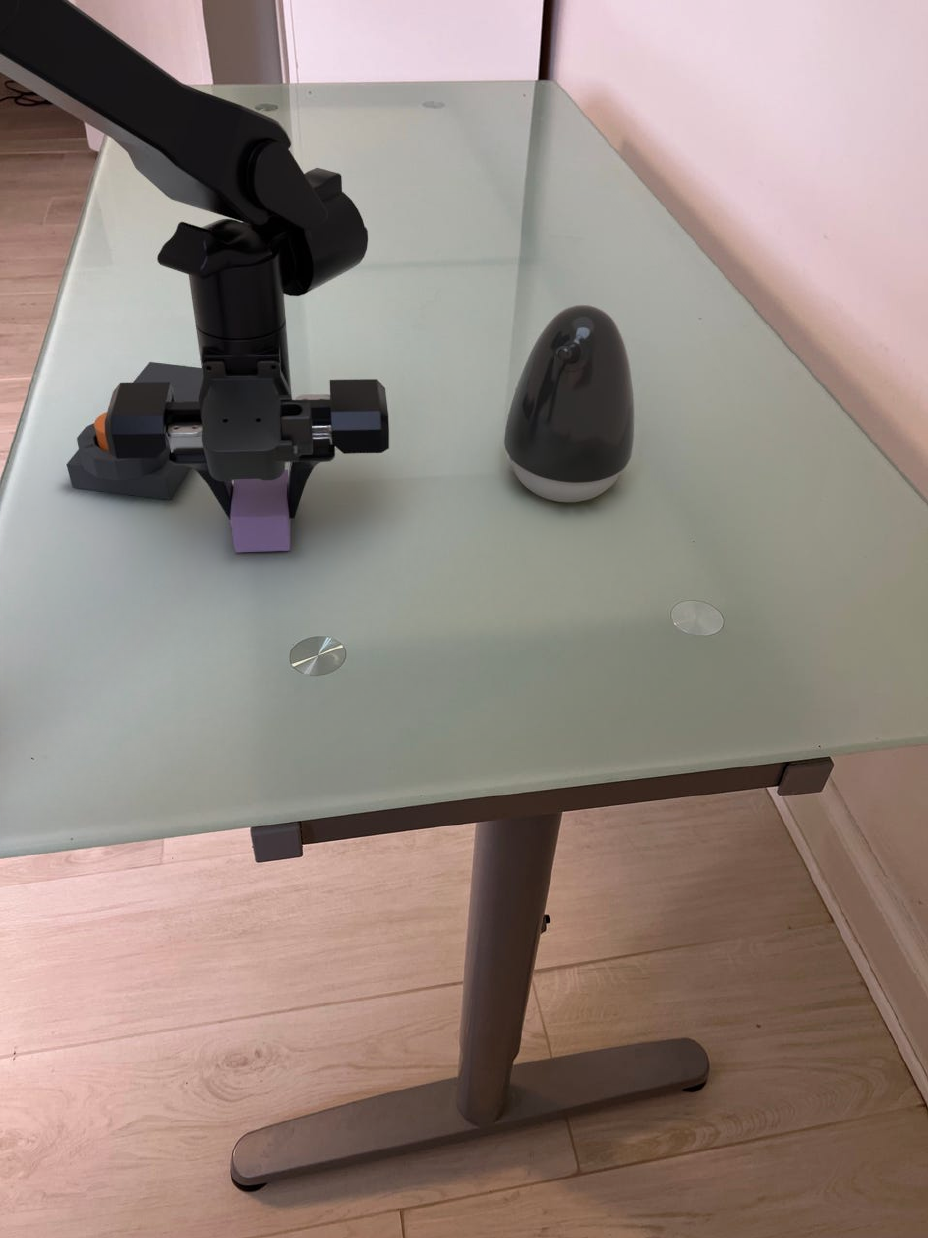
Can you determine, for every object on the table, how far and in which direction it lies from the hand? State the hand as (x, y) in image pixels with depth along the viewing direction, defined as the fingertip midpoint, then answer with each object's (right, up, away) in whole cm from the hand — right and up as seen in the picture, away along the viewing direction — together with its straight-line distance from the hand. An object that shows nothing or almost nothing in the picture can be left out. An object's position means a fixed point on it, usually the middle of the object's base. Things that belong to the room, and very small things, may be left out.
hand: (262, 516), depth 74 cm
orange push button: (-11, +6, +3) cm, 13 cm away
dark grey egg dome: (+23, +3, +8) cm, 25 cm away
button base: (-11, +8, +10) cm, 16 cm away
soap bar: (0, -1, +1) cm, 1 cm away
